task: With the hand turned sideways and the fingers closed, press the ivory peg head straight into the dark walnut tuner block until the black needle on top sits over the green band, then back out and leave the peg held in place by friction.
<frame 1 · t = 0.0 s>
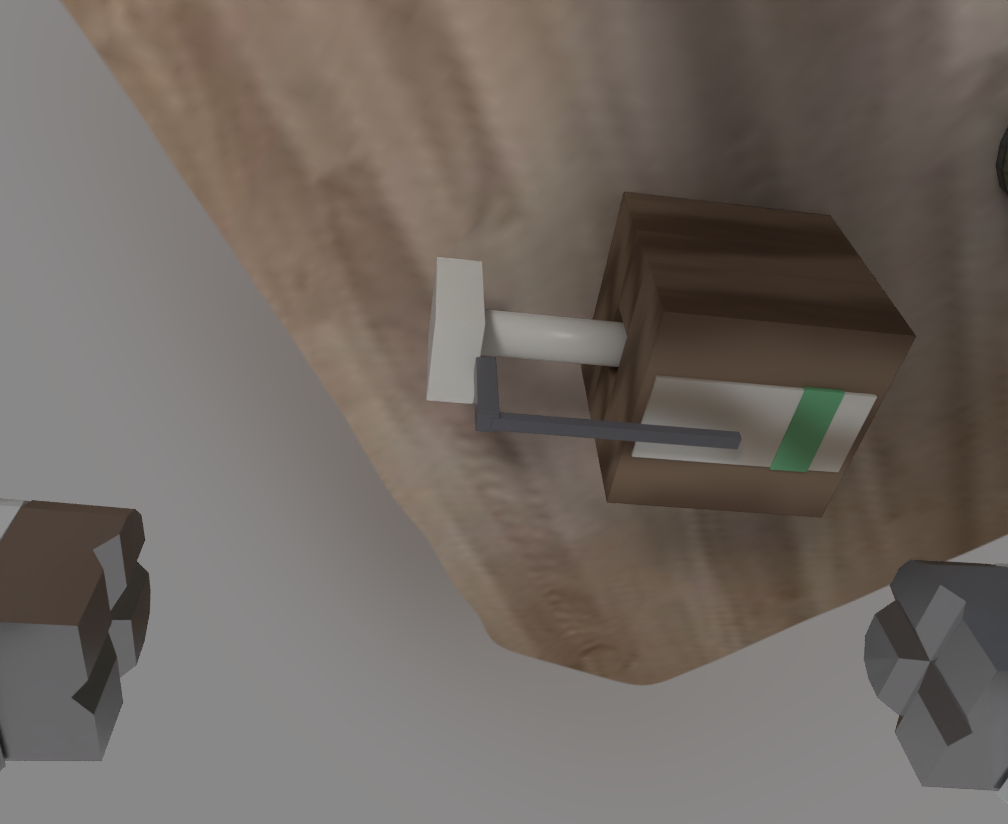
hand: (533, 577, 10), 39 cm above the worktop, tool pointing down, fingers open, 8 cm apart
tuner block: (698, 295, 53), on the worktop
peg: (586, 366, 46), point 8 cm above the worktop, slide at 0.0 cm
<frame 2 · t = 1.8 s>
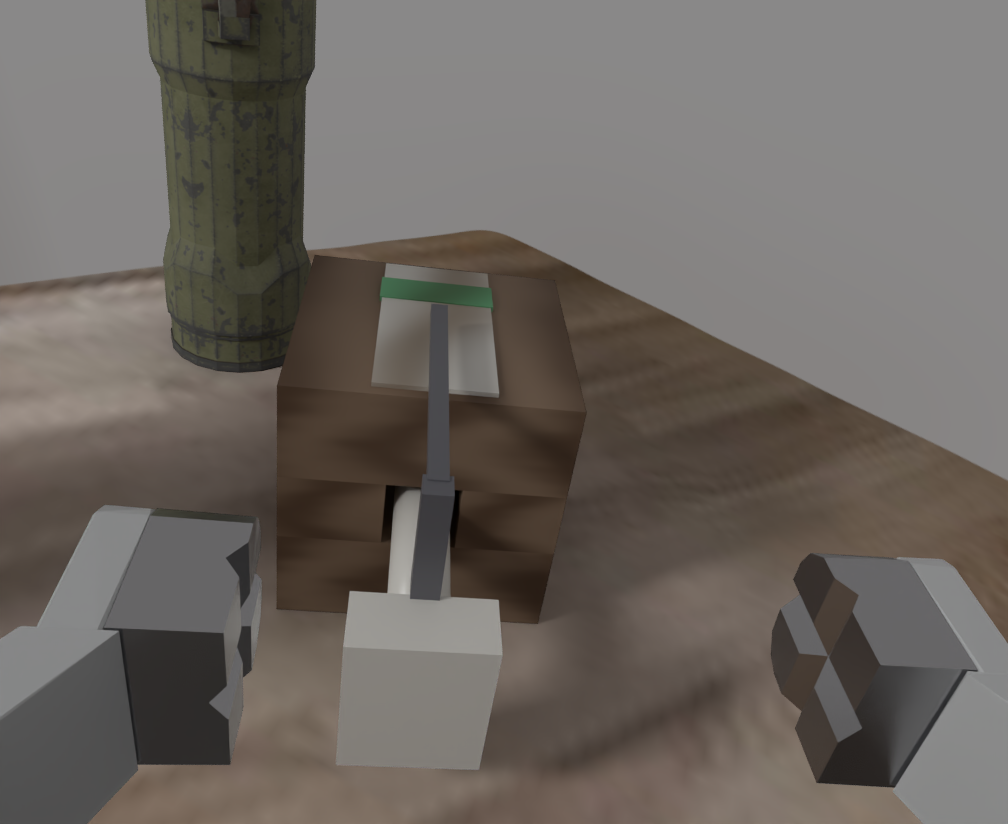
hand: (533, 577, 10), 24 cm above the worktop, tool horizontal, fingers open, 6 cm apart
olive green tall piece: (240, 340, 60), on the worktop
tuner block: (413, 529, 46), on the worktop
peg: (425, 504, 35), point 8 cm above the worktop, slide at 0.0 cm
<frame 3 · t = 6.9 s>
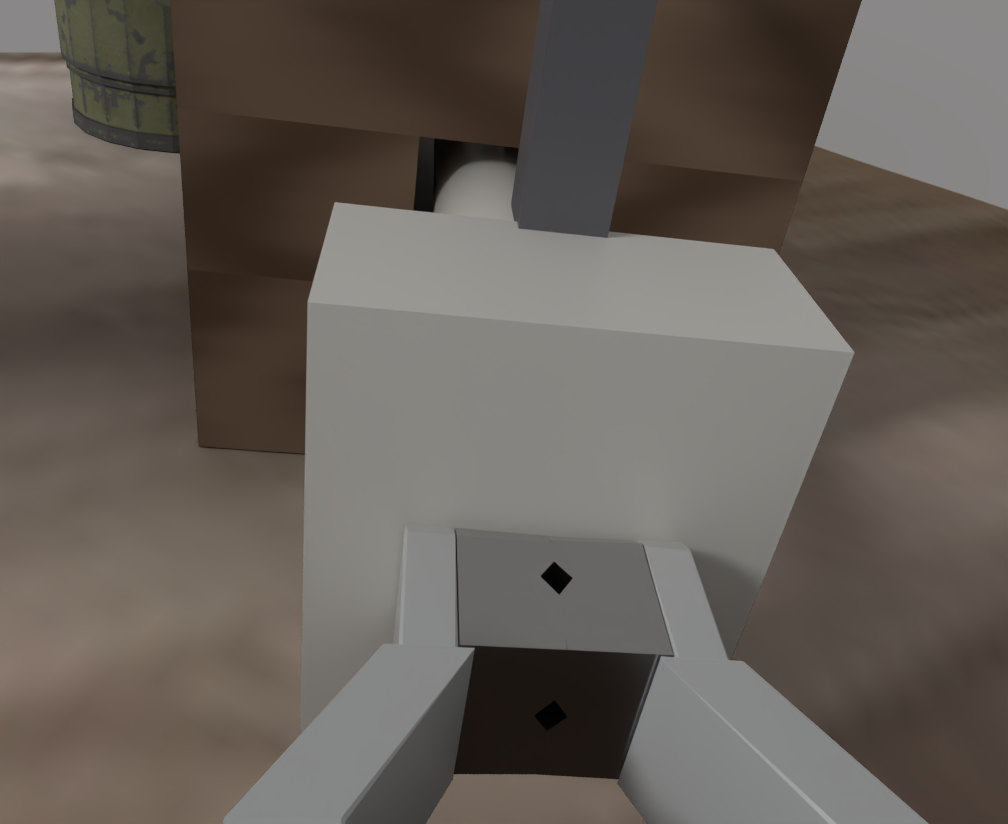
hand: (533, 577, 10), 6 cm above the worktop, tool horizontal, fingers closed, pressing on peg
olive green tall piece: (180, 124, 40), on the worktop
tuner block: (456, 341, 26), on the worktop
peg: (515, 140, 15), point 8 cm above the worktop, slide at 0.0 cm, touching gripper
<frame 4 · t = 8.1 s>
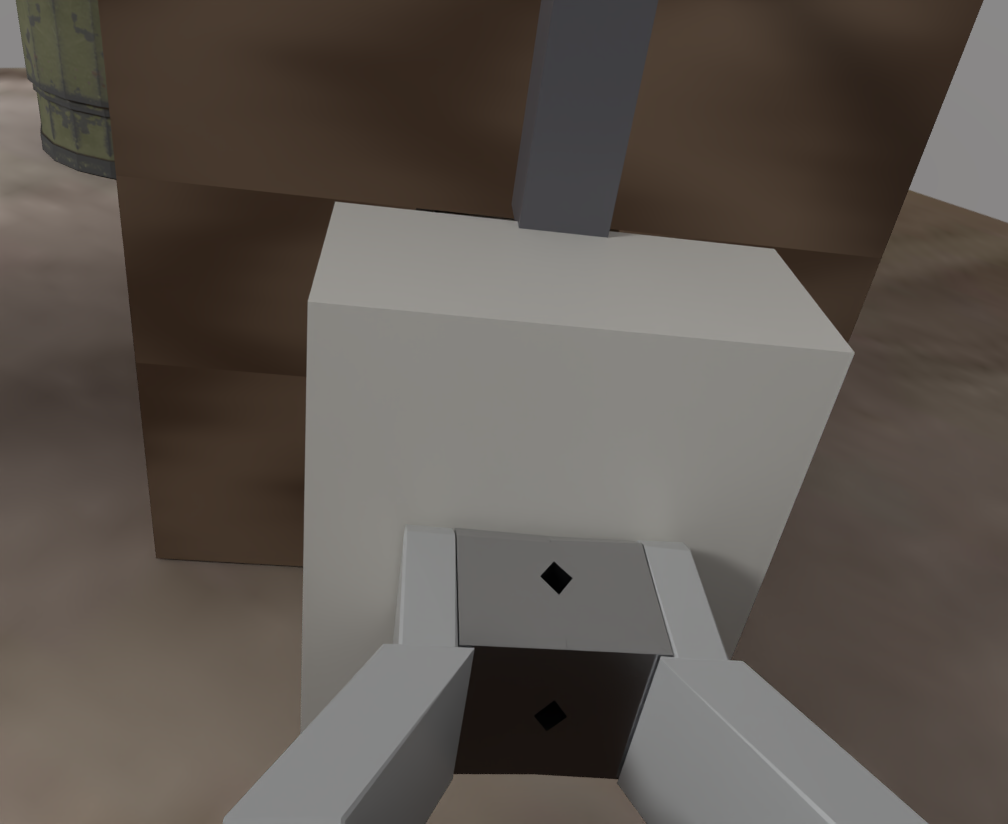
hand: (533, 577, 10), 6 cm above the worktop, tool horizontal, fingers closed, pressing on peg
olive green tall piece: (160, 149, 37), on the worktop
tuner block: (459, 411, 23), on the worktop
peg: (516, 139, 15), point 8 cm above the worktop, slide at 3.8 cm, touching gripper
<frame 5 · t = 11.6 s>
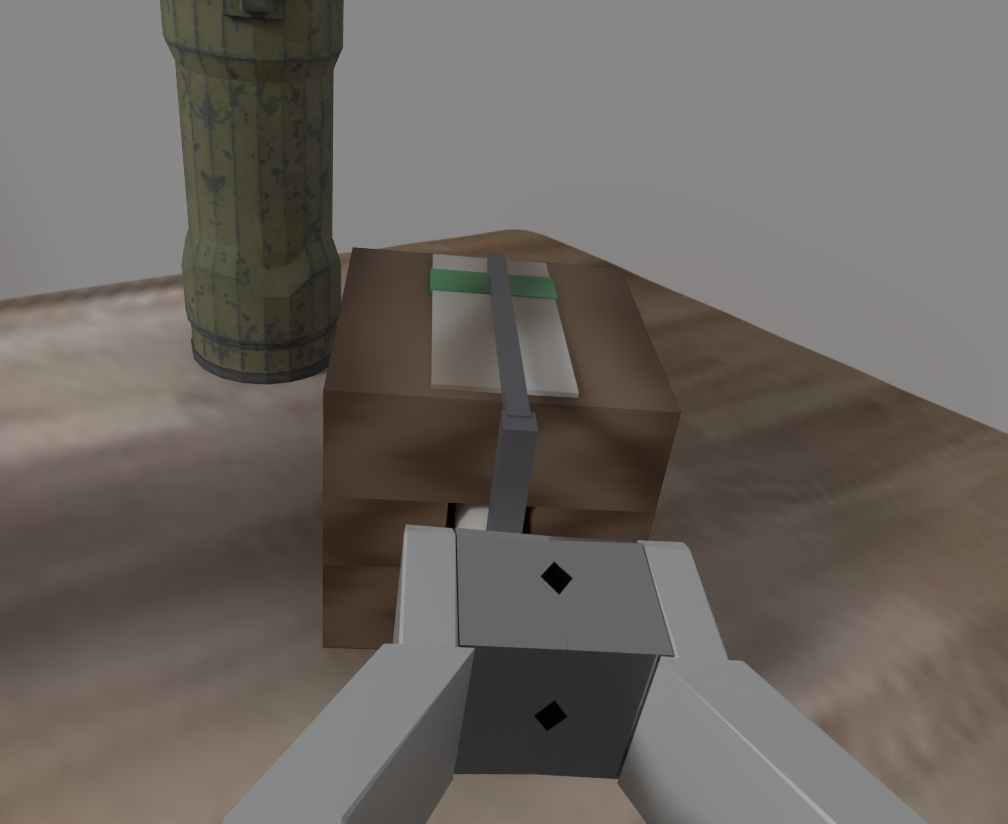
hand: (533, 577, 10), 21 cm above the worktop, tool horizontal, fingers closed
olive green tall piece: (266, 349, 55), on the worktop
tuner block: (468, 551, 41), on the worktop
peg: (491, 459, 33), point 8 cm above the worktop, slide at 3.8 cm
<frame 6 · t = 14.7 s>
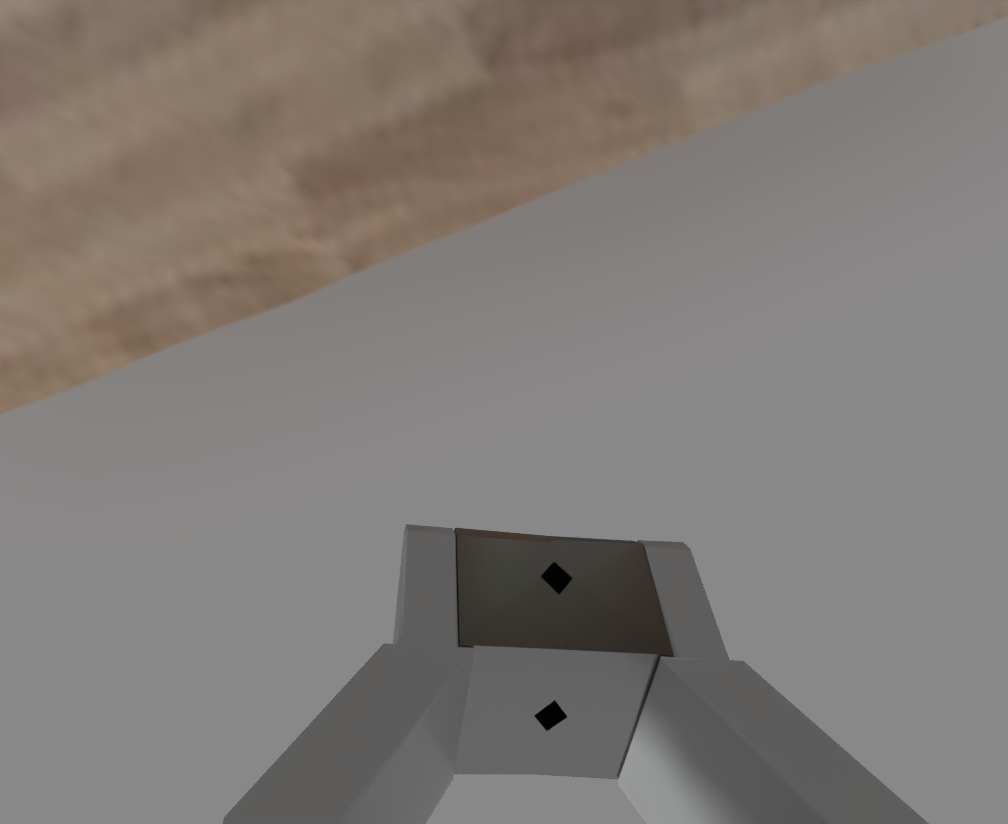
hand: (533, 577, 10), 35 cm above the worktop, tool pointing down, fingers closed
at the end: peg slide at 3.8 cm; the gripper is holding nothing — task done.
